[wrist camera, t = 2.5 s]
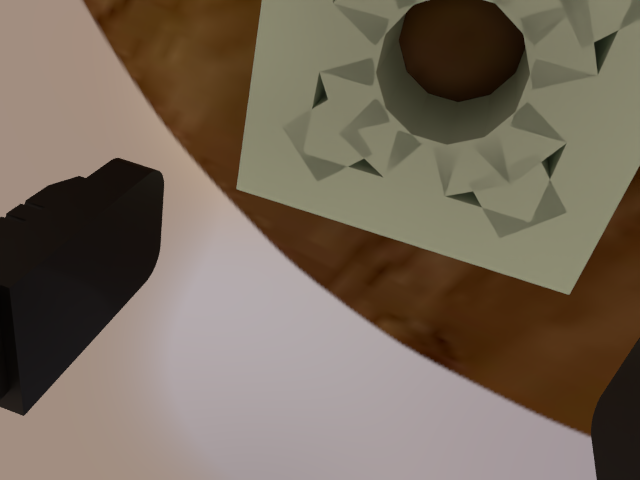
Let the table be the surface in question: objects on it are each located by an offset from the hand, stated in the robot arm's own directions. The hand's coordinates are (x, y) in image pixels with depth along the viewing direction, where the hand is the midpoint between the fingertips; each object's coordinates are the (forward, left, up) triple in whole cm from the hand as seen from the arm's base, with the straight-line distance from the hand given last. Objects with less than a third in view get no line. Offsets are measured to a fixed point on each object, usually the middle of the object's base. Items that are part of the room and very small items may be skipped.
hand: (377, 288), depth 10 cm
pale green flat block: (0, 0, -18) cm, 18 cm away
